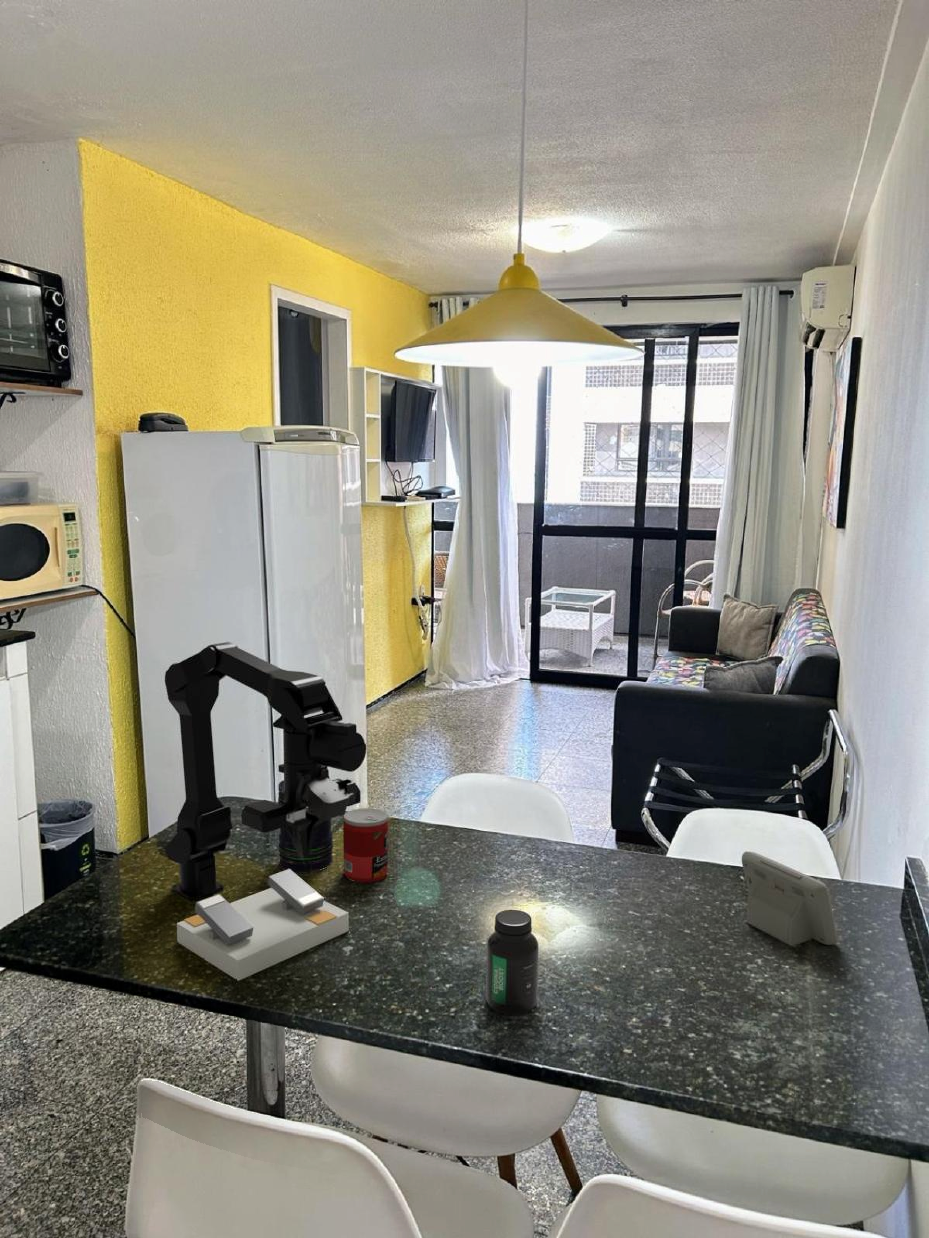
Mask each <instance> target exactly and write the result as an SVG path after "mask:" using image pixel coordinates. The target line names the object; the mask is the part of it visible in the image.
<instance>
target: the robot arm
mask: <svg viewBox="0 0 929 1238" xmlns="http://www.w3.org/2000/svg"><path fill="white" fill-rule="evenodd" d="M164 674H165V675H164V684H165V689H166V693H167V694H166V695H167V699H168V701H169V703H170V704H171V705H172V707H173V709H175V711H176V712H177V714H178V716H179V727H180V737H181V738H180V739H181V752H182V765H183V767H182V768H183V778H184V780H183V781H184V792H185V801H184V803H183V805H182V806H181V810H180V812H179V813H178V816H177V820H176V821H177V822H176V826H177V827H176V834H175V835H174V836H173V837H172V839H170V841H169V842H168V843H167V845H166V846H165V852H166V856H167V860H168V861H172V862H173V863H174V862H175V863H177V864H178V868H179V869H178V870H179V883H176V884H173V885H171V890H173V891H174V892H176V893H178V894H179V895H181V896H183V897H185V898H186V899H188V900H190V901H193V900H195V899H199V898H200V897H204V896H208V895H209V894H212V893H215V892H218V891H221V890H223V889H224V888H225V886H224V885H225V884H223V883H221V882H219V881H217V867H216V856H215V854H216V853H219V852H222V851H225V850H226V847H227V844H228V841H229V838H230V837H231V830H233V829H234V828H233V824H232V819H231V816H232V815H231V813H232V811H231V810H232V809H231V807H230V806H229V805H224V804H223V802H222V801H221V800H220V799H219V797H218V795H217V794H218V793H217V784H216V767H215V755H214V743H213V729H212V728H213V727H212V710H213V708H214V706H215V704H216V702H217V699H218V698H219V695H220V681H221V680H222V679H224V678H225V677H228V678H231V679H233V680H234V681H236V682H238V683H240V684H242V685H244V686H245V687H248V688H249V689H251V690H254V691H256V692H258V693H259V694H262V696H264V697H265V698H266V699H267V702H268V705H269V706H270V707H271V708H272V709H273V710H274V711H276V712H277V713H278V714H280V716H279V718H277V719H276V720H275V721H274V722H273V723H272V727H273V728H277V729H281V730H282V733H283V734H282V735H283V738H282V739H283V741H282V743H283V763H282V764H278V772H279V773H282V774H283V780H284V790H282V791H279V790H278V798H281V799H284V803H281V804H278V803H274V802H272V801H269V800H266V799H263V800H259V801H256V802H253V803H249V804H246V805H245V806H244V807H243V808H242V809H241V825H242V824H243V825H245V826H246V827H249V828H251V829H253V830H255V831H258V832H261V833H270V832H273V831H277V830H280V828H282V827H283V826H284V828H285V829H286V831H287V833H288V834H289V836H290V838H291V840H292V842H293V844H294V847H295V849H296V851H297V853H298V855H299V857H300V858H302V859H305V858H308V856H309V853H310V850H311V848H312V845H313V842H314V839H315V836H316V833H317V831H318V829H319V826H320V824H321V823H322V822H323V821H327V820H330V819H331V820H332V819H333V818H336V817H342V816H344V814H345V813H347V808H348V807H351V806H354V805H357V804H360V803H361V802H362V801H361V800H362V799H361V797H362V796H361V792H362V791H361V789H360V788H359V786H358V785H357V783H356V781H355V780H354V779H353V778H351V777H347V778H344V779H341V778H336V779H330V774H329V773H330V772H329V769H328V767H329V768H333V769H336V770H341V771H345V772H349V773H350V772H351V773H354V771H356V770H358V769H359V768H360V767H362V764H363V763H364V760H365V758H366V754H367V744H366V742H365V739H364V736H363V735H362V734H361V733H359V732H357V730H358V729H357V724H356V723H351V722H348V723H347V722H346V723H344V722H341V721H343V719H344V718H343V715H342V714H341V712H340V709H339V707H338V706H337V704H336V702H335V701H334V698H333V696H332V695H331V693H330V691H329V688H328V687H327V685H326V684H327V683H326V681H325V680H324V679H323V678H322V677H321V676H320V675H317V674H313V673H309V672H305V671H297V670H296V671H295V670H287V669H282V668H280V667H278V666H276V665H274V664H272V663H270V662H268V661H267V660H264V659H263V658H260V657H258V656H256V655H254V654H251V653H250V652H248V651H246V650H243V649H241V648H239V647H238V645H237V644H236V643H233V642H229V641H226V642H220V643H213V644H209V645H207V646H206V647H204V648H202V649H201V650H200V651H198V652H197V653H195V654H194V655H191V656H189V657H187V658H186V659H183V660H181V661H180V662H175V663H172V664H171V665H170V666H169V667H168V669H166V671H165V673H164ZM321 711H322V712H321ZM319 712H320V713H319ZM316 713H318V714H316ZM313 714H314V715H313ZM308 715H310V716H308ZM305 716H307V717H305Z"/></svg>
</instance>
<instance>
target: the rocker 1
mask: <svg viewBox="0 0 929 1238" xmlns="http://www.w3.org/2000/svg"><path fill="white" fill-rule="evenodd" d="M229 903H230V902H228V900H227V899H225V898H224V896H222V894H221V893H219V894H218V893H217V894H215V895H213V896H210V897H207V898H205V899H202V900H199V901H196V902H195V907H194V912H195V913H196V915H199V916H200V917H201V918H202V919H203V920H204V921H205V922H206V923H207V924H208V925H209V926H210V927H211V928H212V929H213V930H214V931H215V932H216V933H217V935H218V936H219V937H220V938H221V939H222V940H223V941H224V942H225V943H226V944H227V945H228V946H229V945H231V944H234V943H236V942H238V941H241V940H243V939H246V938H248V937H251V936H252V933H253V926H252V925H251V924H250V923H249V922H248V921H247V920H246V919H245V918H244V917H243V916H242V915H240V914H239V913H238V912H237V911H236V910H235V909H234V908H233V907H232V906H231V905H230V904H229Z"/></svg>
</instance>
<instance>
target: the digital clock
mask: <svg viewBox="0 0 929 1238" xmlns="http://www.w3.org/2000/svg"><path fill="white" fill-rule="evenodd" d="M741 865H742V869H743V874H744V878H745V881H746V886H747V891H748V898H747V901H746V903H747V904H746V921H745V922H746V923H747V924H749V925H750V926H751V927H754V928H756V929H758V930H760V931H762V932H763V933H766V934H767V935H769V936H771V937H773V938H775V939H777V940H779V941H781V942H782V943H783V944H786V945H788V946H790V947H792V946H795V945H796V946H797V945H799V944H802V943H805V942H807V941H811V940H815V941H817V942H819V943H820V944H823V945H827V946H833V945H835V944H837V942H838V932H837V927H836V923H835V917H834V913H833V909H832V907H833V906H832V903H831V897H830V894H829V893H830V892H829V889H828V886H827V884H825V883H824V882H823V881H821V880H820V879H819V880H818V879H816V878H815V877H812V876H810V875H808V874H805V873H803V872H801V871H799V870H796V869H793V868H791V867H789V866H788V865H785V864H783V863H780V862H778V861H776V860H773V859H771V858H769V857H767V856H764V855H761V854H760V853H757V852H756V851H755V852H754V851H748V850H747V851H744V852H743V853H742V855H741Z"/></svg>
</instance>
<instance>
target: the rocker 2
mask: <svg viewBox="0 0 929 1238" xmlns="http://www.w3.org/2000/svg"><path fill="white" fill-rule="evenodd" d="M267 885H268V886H269V888H272V889H274V890H275V891H276V892H277V893H278V894H279V895H280V896H281V897H283V898H284V899H285V900H286V901H287V902H288V903H289V904H290V905H292V906H293V907H294V908H295V909H296V910H297V911H298V912H299V913H301V914H302V915H303V914H305V913H308V912H310V911H312V910H315V909H317V908H320V907H322V906H323V901H325V897H324V896H322V895H321V894H320V893H319V892H317V891H316V890H315V889H314V888H313V887H312V886H311V885H309V884H308V883H307V882H305V880H303V879H302V878H301V877H300V876H298V874H297V873H295V872H293V871H292V870H290V869H288V870H283V871H279V872H278V873H274V874H272V875H269V876H268V880H267Z"/></svg>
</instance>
